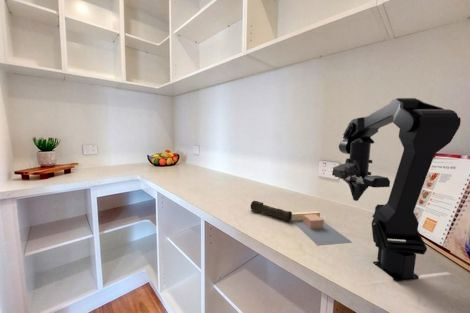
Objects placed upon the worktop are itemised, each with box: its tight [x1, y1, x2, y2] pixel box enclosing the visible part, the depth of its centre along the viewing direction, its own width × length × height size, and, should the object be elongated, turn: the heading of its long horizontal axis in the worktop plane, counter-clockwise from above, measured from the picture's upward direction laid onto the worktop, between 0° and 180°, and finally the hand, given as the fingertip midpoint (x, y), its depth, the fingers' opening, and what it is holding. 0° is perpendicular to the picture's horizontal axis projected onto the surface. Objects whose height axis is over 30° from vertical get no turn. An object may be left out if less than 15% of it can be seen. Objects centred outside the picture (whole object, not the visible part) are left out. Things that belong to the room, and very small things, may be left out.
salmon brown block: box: [303, 214, 325, 229], centre depth 71 cm, size 5×5×3 cm
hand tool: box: [250, 200, 293, 223], centre depth 80 cm, size 19×4×5 cm, turn 47°
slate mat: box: [290, 210, 353, 247], centre depth 68 cm, size 18×12×3 cm, turn 10°
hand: (355, 200), depth 67 cm, fingers closed
